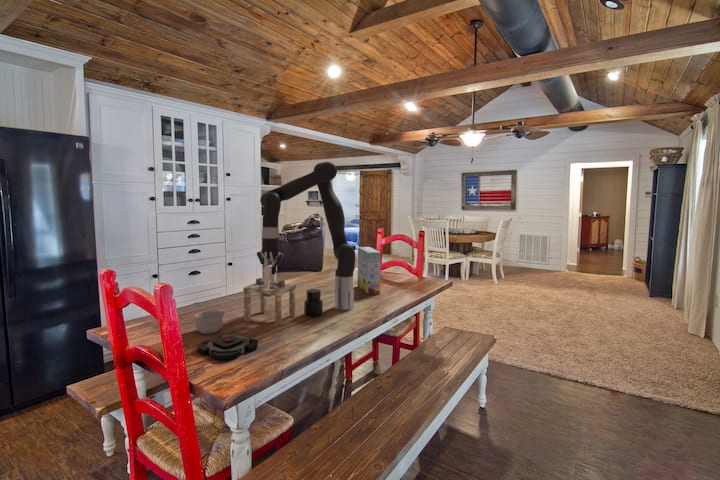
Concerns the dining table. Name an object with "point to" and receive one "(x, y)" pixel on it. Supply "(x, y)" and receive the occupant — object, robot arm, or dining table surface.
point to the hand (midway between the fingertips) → (270, 273)
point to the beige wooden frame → (259, 288)
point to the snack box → (369, 270)
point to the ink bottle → (313, 303)
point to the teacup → (209, 321)
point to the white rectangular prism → (267, 278)
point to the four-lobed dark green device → (227, 346)
